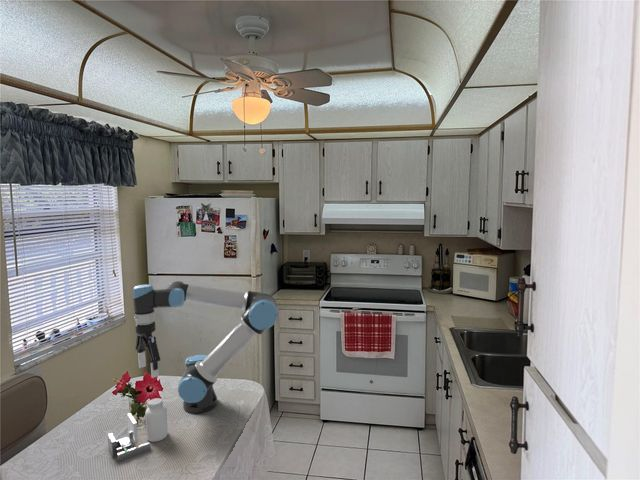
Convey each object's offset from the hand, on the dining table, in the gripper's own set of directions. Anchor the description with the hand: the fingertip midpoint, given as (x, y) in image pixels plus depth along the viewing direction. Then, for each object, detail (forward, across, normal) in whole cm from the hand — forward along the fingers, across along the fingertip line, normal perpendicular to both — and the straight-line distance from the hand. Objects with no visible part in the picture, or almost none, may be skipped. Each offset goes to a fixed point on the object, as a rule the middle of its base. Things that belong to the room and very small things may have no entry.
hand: (148, 371), depth 172 cm
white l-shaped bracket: (+23, +11, -13) cm, 28 cm away
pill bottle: (+23, +10, -2) cm, 26 cm away
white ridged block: (+23, +11, -13) cm, 29 cm away
